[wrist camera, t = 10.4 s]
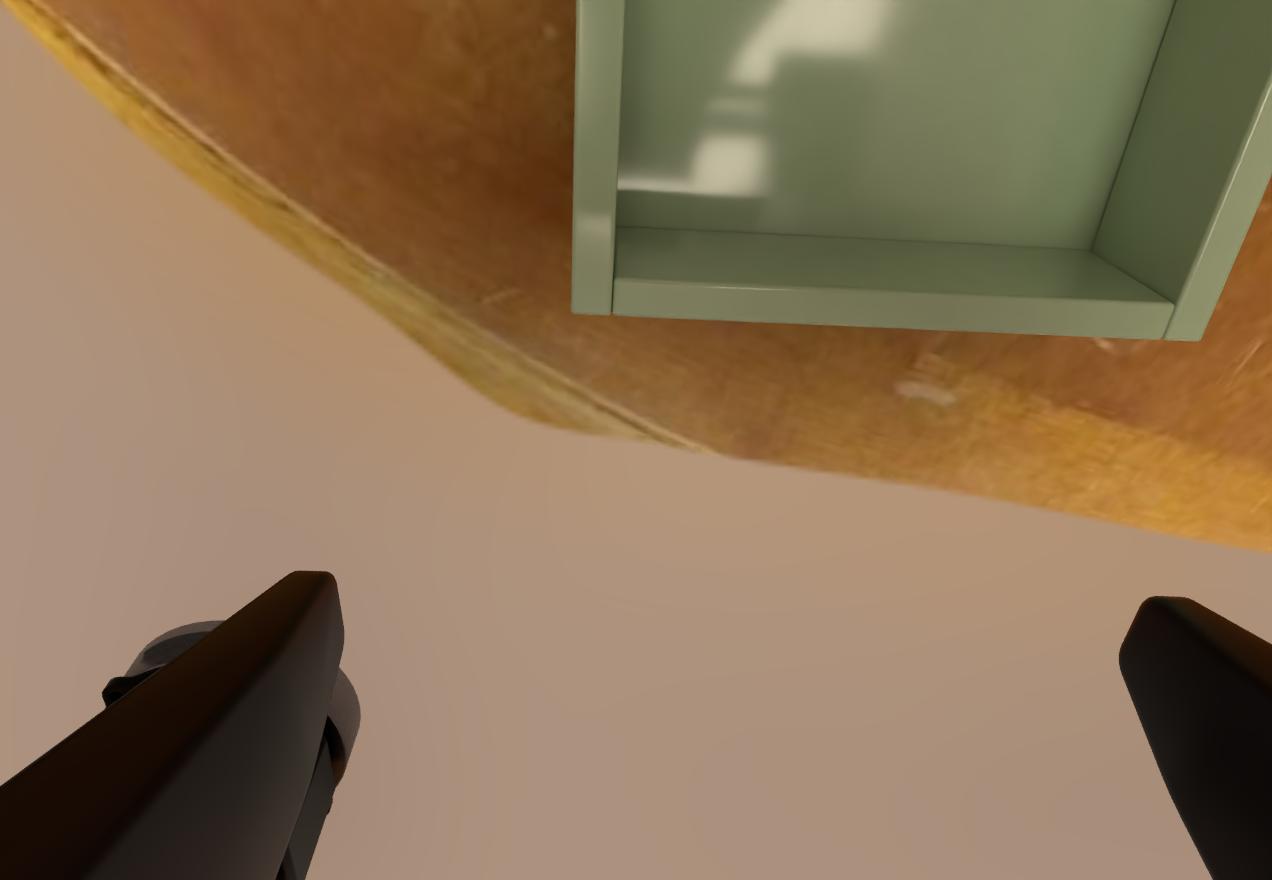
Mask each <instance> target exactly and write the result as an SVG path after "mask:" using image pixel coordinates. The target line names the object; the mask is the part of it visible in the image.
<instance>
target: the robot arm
mask: <svg viewBox="0 0 1272 880" xmlns="http://www.w3.org/2000/svg"><path fill="white" fill-rule="evenodd" d="M343 645H344V626H343V620H342V613H341V606H340V601H339V594H338V588H337V583H336V580H335V578H334V576H333V575H332V574H331V573H329V572H325V571H294V572H292V573H290V574H288V575H287V576H286V577H284V578H283V579H282V580H280V581H279V582H277V583H276V584H275V585H273V586H272V587H271V588H269V589H268V590H266V591H265V592H264V593H262V594H261V595H260V596H258V597H257V598H256V599H254V600H253V601H252V602H250V603H249V604H248V605H246V606H245V607H243V608H242V609H241V610H239V611H238V612H236V613H235V614H234V615H232V616H231V617H230V618H228V619H227V620H226V621H224V622H223V623H222V624H220V625H219V626H217V627H216V628H215V629H213V630H212V631H211V632H209V633H208V634H207V635H205V636H204V637H202V638H201V639H200V640H198V641H197V642H196V643H194V644H193V645H192V646H190V647H189V648H188V649H186V650H185V651H183V652H182V653H181V654H179V655H178V656H177V657H175V658H174V659H173V660H171V661H170V662H169V663H167V664H166V665H164V666H163V667H162V668H160V669H159V670H158V671H156V672H155V673H154V674H152V675H151V676H149V677H121V676H120V677H114V678H112V679H111V680H110V681H109V682H108V684H107V685H106V687H105V688H104V690H103V691H102V697H103V700H104V703H105V705H106V709H105V710H103V711H102V712H101V713H100V714H98V715H96V716H95V717H94V718H93V719H91V720H90V721H88V722H87V723H86V724H85V725H83V726H82V727H80V728H79V729H77V730H76V731H75V732H73V733H72V734H71V735H69V736H68V737H67V738H65V739H64V740H62V741H61V742H60V743H58V744H57V745H56V746H54V747H53V748H52V749H50V750H49V751H48V752H46V753H45V754H43V755H42V756H41V757H39V758H38V759H37V760H35V761H34V762H33V763H31V764H30V765H28V766H27V767H26V768H24V769H23V770H22V771H20V772H19V773H18V774H16V775H15V776H14V777H12V778H11V779H10V780H8V781H7V782H5V783H4V784H3V785H1V786H0V880H305V878H306V875H307V872H308V869H309V866H310V862H311V860H312V856H313V854H314V851H315V848H316V845H317V842H318V839H319V836H320V833H321V830H322V827H323V824H324V821H325V818H326V816H327V815H328V814H329V812H330V809H331V806H332V803H333V797H332V796H333V794H334V791H335V788H336V783H335V778H334V773H333V767H332V762H331V757H330V752H329V747H328V741H327V740H326V738H325V737H324V736H323V730H324V726H325V722H326V718H327V714H328V709H329V705H330V701H331V697H332V693H333V689H334V685H335V680H336V676H337V672H338V668H339V664H340V660H341V656H342V651H343ZM1119 665H1120V670H1121V673H1122V676H1123V678H1124V681H1125V683H1126V686H1127V688H1128V691H1129V693H1130V696H1131V699H1132V701H1133V704H1134V706H1135V709H1136V711H1137V714H1138V716H1139V719H1140V721H1141V724H1142V727H1143V729H1144V732H1145V734H1146V737H1147V739H1148V742H1149V744H1150V747H1151V749H1152V752H1153V754H1154V757H1155V759H1156V762H1157V765H1158V767H1159V769H1160V772H1161V775H1162V777H1163V779H1164V782H1165V784H1166V786H1167V789H1168V791H1169V794H1170V796H1171V798H1172V800H1173V802H1174V804H1175V806H1176V808H1177V810H1178V812H1179V815H1180V817H1181V819H1182V821H1183V822H1184V825H1185V827H1186V828H1187V830H1188V832H1189V834H1190V836H1191V838H1192V840H1193V842H1194V844H1195V846H1196V848H1197V850H1198V852H1199V854H1200V856H1201V858H1202V860H1203V862H1204V863H1205V866H1206V868H1207V869H1208V871H1209V873H1210V875H1211V877H1212V879H1213V880H1272V644H1270V643H1268V642H1266V641H1265V640H1263V639H1261V638H1259V637H1258V636H1256V635H1254V634H1252V633H1250V632H1249V631H1247V630H1245V629H1243V628H1242V627H1240V626H1238V625H1236V624H1234V623H1233V622H1231V621H1229V620H1227V619H1226V618H1224V617H1222V616H1220V615H1218V614H1217V613H1215V612H1213V611H1211V610H1210V609H1208V608H1206V607H1204V606H1202V605H1201V604H1199V603H1197V602H1195V601H1193V600H1191V599H1189V598H1185V597H1168V596H1154V597H1149V598H1148V599H1146V600H1145V601H1144V602H1143V603H1142V604H1141V606H1140V607H1139V610H1138V612H1137V614H1136V616H1135V618H1134V620H1133V622H1132V624H1131V626H1130V629H1129V631H1128V633H1127V635H1126V637H1125V639H1124V642H1123V643H1122V645H1121V648H1120V652H1119Z"/></svg>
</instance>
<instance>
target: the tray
mask: <svg viewBox="0 0 1272 880" xmlns="http://www.w3.org/2000/svg"><path fill="white" fill-rule="evenodd" d="M1271 176H1272V0H576V24H575V82H574V139H573V197H572V254H571V311H572V313H574V314H583V315H605V316H607V315H610V314H611V312H612V313H613V315H615V316H627V317H650V318H673V319H695V320H718V321H740V322H763V323H786V324H808V325H831V326H854V327H876V328H899V329H922V330H944V331H967V332H990V333H1012V334H1035V335H1058V336H1080V337H1103V338H1125V339H1148V340H1160V339H1161V338H1162V339H1164V340H1171V341H1194V342H1197V341H1200V340H1201V339H1202V336H1203V334H1204V332H1205V330H1206V327H1207V325H1208V323H1209V320H1210V318H1211V316H1212V313H1213V311H1214V309H1215V306H1216V304H1217V302H1218V299H1219V297H1220V295H1221V292H1222V290H1223V288H1224V285H1225V283H1226V281H1227V278H1228V276H1229V274H1230V271H1231V269H1232V267H1233V265H1234V262H1235V260H1236V258H1237V255H1238V253H1239V251H1240V248H1241V246H1242V244H1243V241H1244V239H1245V237H1246V234H1247V232H1248V230H1249V227H1250V225H1251V223H1252V220H1253V218H1254V216H1255V213H1256V211H1257V209H1258V207H1259V204H1260V202H1261V200H1262V197H1263V195H1264V193H1265V190H1266V188H1267V186H1268V183H1269V181H1270V179H1271Z"/></svg>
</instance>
